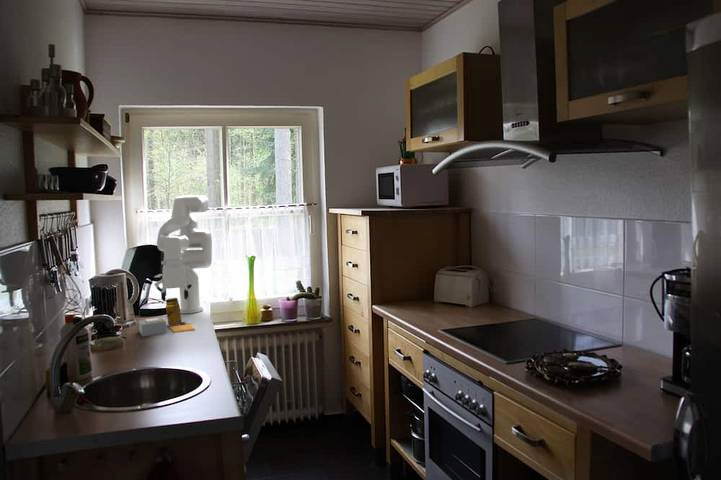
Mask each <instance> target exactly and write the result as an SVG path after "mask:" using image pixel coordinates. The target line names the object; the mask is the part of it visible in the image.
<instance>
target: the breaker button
mask: <svg viewBox="0 0 721 480" xmlns="http://www.w3.org/2000/svg"><path fill="white" fill-rule="evenodd" d="M158 318H159V317H153V318H147V319H144V320H145V321H146V323H152V322H159V319H158Z"/></svg>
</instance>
